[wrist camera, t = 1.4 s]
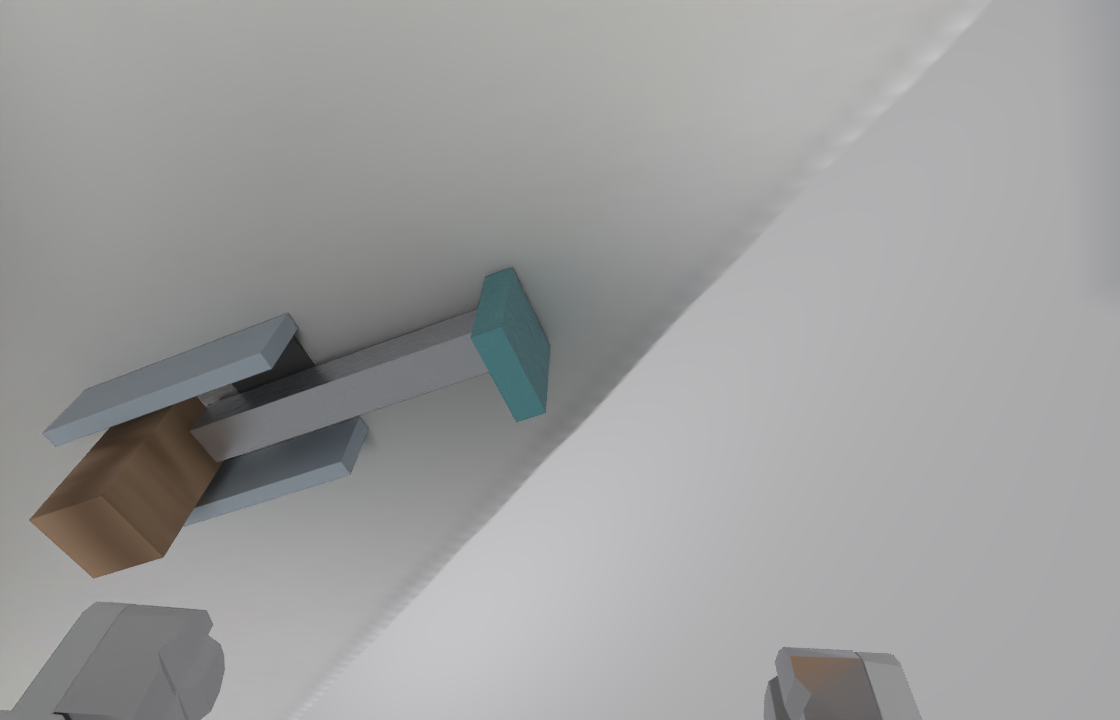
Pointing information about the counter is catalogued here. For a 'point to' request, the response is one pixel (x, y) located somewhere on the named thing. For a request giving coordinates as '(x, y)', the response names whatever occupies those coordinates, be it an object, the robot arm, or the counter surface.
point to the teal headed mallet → (394, 375)
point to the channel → (246, 366)
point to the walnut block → (130, 491)
